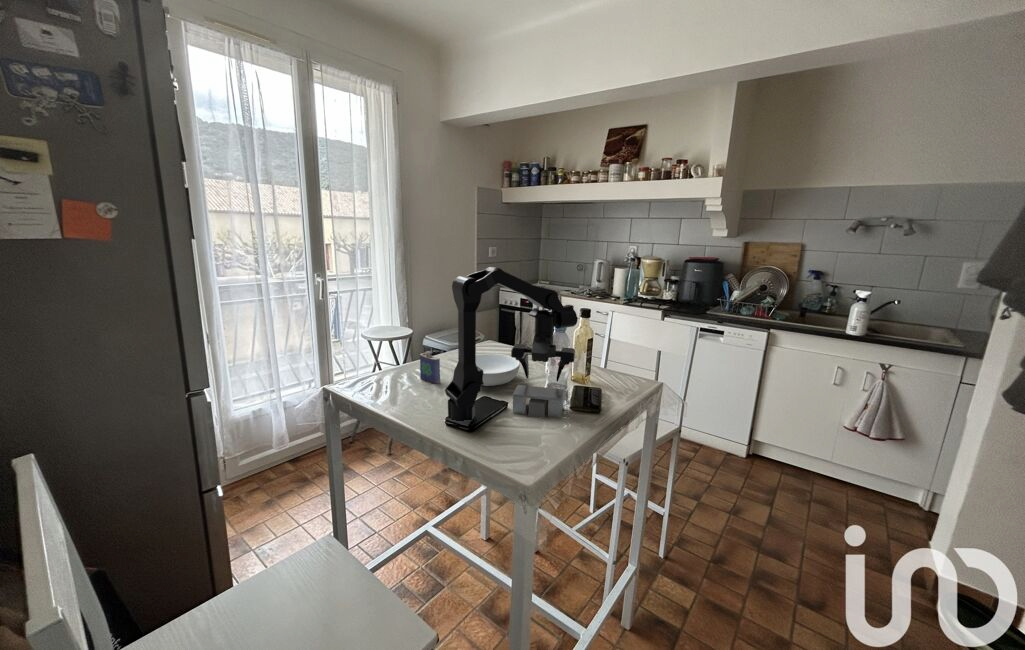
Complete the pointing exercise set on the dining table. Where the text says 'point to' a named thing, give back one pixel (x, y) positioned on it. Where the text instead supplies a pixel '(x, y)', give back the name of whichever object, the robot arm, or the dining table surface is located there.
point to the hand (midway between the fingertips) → (542, 379)
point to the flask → (429, 368)
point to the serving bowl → (497, 368)
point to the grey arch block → (527, 392)
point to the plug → (537, 408)
